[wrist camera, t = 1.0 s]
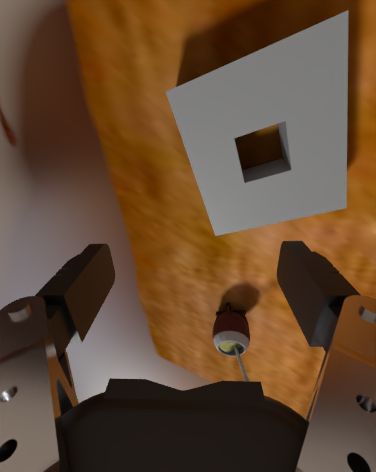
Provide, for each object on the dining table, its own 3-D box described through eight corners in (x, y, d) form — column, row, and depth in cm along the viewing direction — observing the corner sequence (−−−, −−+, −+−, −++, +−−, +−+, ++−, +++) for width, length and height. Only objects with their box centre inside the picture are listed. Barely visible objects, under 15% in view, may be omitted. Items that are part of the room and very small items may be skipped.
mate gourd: (210, 302, 47) (204, 380, 34) (249, 299, 44) (257, 381, 32) (218, 324, 50) (215, 402, 38) (254, 322, 48) (263, 404, 36)
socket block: (175, 90, 26) (165, 91, 22) (325, 24, 22) (348, 10, 18) (216, 218, 35) (215, 236, 31) (330, 191, 30) (346, 208, 26)
